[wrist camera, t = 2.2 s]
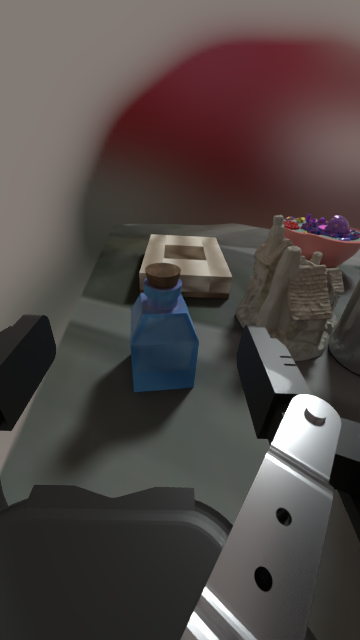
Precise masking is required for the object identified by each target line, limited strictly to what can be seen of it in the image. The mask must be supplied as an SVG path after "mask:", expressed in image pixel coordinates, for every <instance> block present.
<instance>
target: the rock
mask: <svg viewBox="0 0 360 640" xmlns="http://www.w3.org/2000/svg"><path fill="white" fill-rule="evenodd" d="M283 220H284V219H283V216H282V215H278V216H275V217H274V219H273V226H272V228H271V230H270V232H269V238H268V239H267V240H266V241H265V243H264V244H263V245H262V246H261V247H260V248H258V249H257V251H256V252H255V254H254V257H255V260H256V262H255V266H254V273H253V275H252V276H251V277H250V278H249V279H250V282H249V283H248V288H247V290H246V294H245V296H244V298H243V299H242V300H241V302H240V304H239V306H238V308H237V311H236V317H237V319H238V321H239V322H240V324H241V326H242V327H243V328H244V326H245V325H256V326H264V327H265V328H266V330H267V332H268V334H269V336H270V338H276V339H278V340H279V341H280V342H281V343H282V344H283V345H285V346H286V348H287V349H288V351H289V353H290V355H291V358H293V360H294V361H302V360H308V359H312V358H315V357H318V356H320V355H321V354H322V353H323V351H324V350H325V348H326V346H327V343H328V341H329V340H330V337H331V336H332V334H333V332H334V331H335V329H336V327H337V323H338V322H337V319H336V316H335V315H334V313H333V311H334V308H335V307H336V304H337V303H338V298H339V297H340V296H339V294H340V293H342V292H344V285H343V280H342V273H341V271H340V269H339V268H326V265H320V261H321V259H322V256H323V255H322V253H321V252H314V253H313V256H312V258H311V259H310V261H308V260H307V259H306V257H305V256H301V253H302V251H301V249H300V248H299V247H297V246H294V245H293V243H292V242H291V240H290V239H286V238H284V231H285V227H283V226H282V224H283Z"/></svg>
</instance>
